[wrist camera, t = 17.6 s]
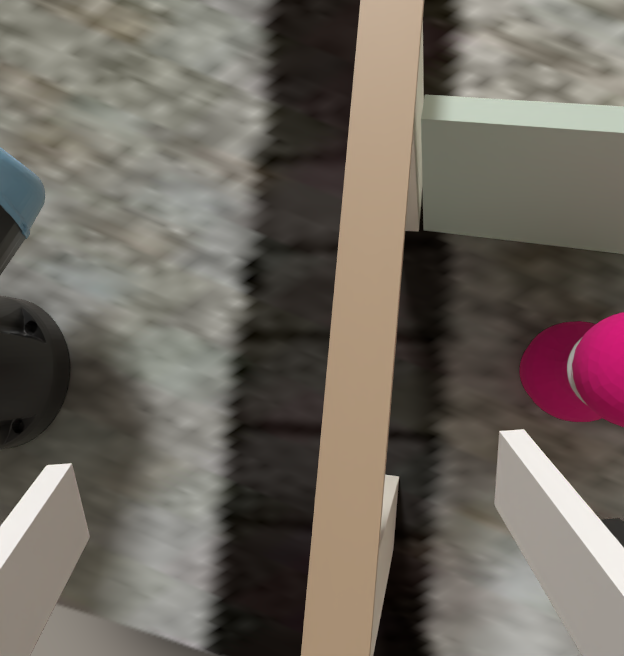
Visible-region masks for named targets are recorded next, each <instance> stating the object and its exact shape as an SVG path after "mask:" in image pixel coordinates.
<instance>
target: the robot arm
mask: <svg viewBox="0 0 624 656" xmlns="http://www.w3.org/2000/svg"><path fill="white" fill-rule="evenodd" d="M44 201H45V189H44V186H43V183H42V182H41V180H40V179H39V177H38V176H37V175H35V174H34V173H33V172H32V171H31V170H29V169H28V168H27V167H25V166H24V165H23V164H22V163H20V162H19V161H18V160H16V159H15V158H14V157H12V156H11V155H10V154H8V153H7V152H6V151H4V150H3V149H2V148H0V275H1V273H2V272H3V270H4V269H5V267H6V266H7V265H8V263H9V262H10V260H11V259H12V257H13V256H14V254H15V253H16V251H17V250H18V249H19V247H20V246H21V244H22V243H23V241H24V240H25V239H27V238H28V236H29V234H30V230H29V229H30V228H31V226H32V224H33V222H34V221H35V219H36V217H37V215H38V214H39V212H40V210H41V208H42V207H43V205H44ZM69 371H70V366H69V355H68V350H67V346H66V343H65V340H64V337H63V335H62V333H61V331H60V329H59V327H58V326H57V324H56V323H55V321H54V320H53V319H52V318H51V316H50V315H49V314H48V313H46V312H45V311H44V310H43V309H41V308H40V307H38V306H37V305H35V304H33V303H31V302H28V301H25V300H22V299H17V298H11V297H6V296H0V449H4V448H10V447H15V446H18V445H21V444H24V443H26V442H28V441H30V440H32V439H33V438H35V437H36V436H38V435H39V434H40V433H41V432H43V431H44V430H45V429H46V428H47V427H48V426H49V424H50V423H51V422H52V421H53V419H54V418H55V416H56V415H57V413H58V411H59V409H60V408H61V405H62V403H63V401H64V398H65V395H66V392H67V387H68V382H69ZM494 505H495V507H496V509H497V511H498V512H499V514H500V516H501V518H502V519H503V521H504V523H505V524H506V526H507V528H508V530H509V531H510V533H511V535H512V536H513V538H514V540H515V542H516V543H517V545H518V547H519V548H520V550H521V552H522V554H523V555H524V557H525V559H526V560H527V562H528V564H529V566H530V567H531V569H532V571H533V572H534V574H535V576H536V578H537V579H538V581H539V583H540V584H541V586H542V588H543V590H544V591H545V593H546V595H547V596H548V598H549V600H550V602H551V603H552V605H553V607H554V608H555V610H556V612H557V614H558V615H559V617H560V619H561V620H562V622H563V624H564V626H565V627H566V629H567V631H568V632H569V634H570V636H571V638H572V639H573V641H574V643H575V645H576V646H577V648H578V650H579V651H580V653H581V655H582V656H624V521H622V520H621V519H619V518H617V519H605V520H600V519H599V518H598V517H597V515H596V514H595V513H594V512H593V511H592V509H591V508H590V507H589V506H588V505H587V504H586V502H585V501H584V500H583V499H582V498H581V496H580V495H579V494H578V493H577V492H576V491H575V489H574V488H573V487H572V486H571V485H570V483H569V482H568V481H567V480H566V479H565V478H564V476H563V475H562V474H561V473H560V472H559V470H558V469H557V468H556V467H555V466H554V464H553V463H552V462H551V461H550V460H549V459H548V457H547V456H546V455H545V454H544V453H543V451H542V450H541V449H540V448H539V447H538V446H537V444H536V443H535V442H534V441H533V440H532V438H531V437H530V436H529V435H528V434H527V433H526V431H525V430H524V429H521V430H508V431H499V444H498V458H497V473H496V487H495V501H494ZM89 538H90V535H89V531H88V527H87V523H86V518H85V514H84V510H83V506H82V502H81V498H80V494H79V490H78V486H77V481H76V477H75V473H74V469H73V465H72V463H69V464H56V465H46V467H45V468H44V469H43V471H42V472H41V473H40V475H39V476H38V477H37V479H36V480H35V481H34V483H33V484H32V485H31V486H30V488H29V489H28V490H27V492H26V493H25V494H24V496H23V497H22V498H21V500H20V501H19V502H18V504H17V505H16V506H15V508H14V509H13V510H12V512H11V513H10V514H9V516H8V517H7V518H6V520H5V521H4V522H3V524H2V525H1V526H0V656H30V655H31V653H32V651H33V649H34V647H35V645H36V643H37V641H38V639H39V637H40V635H41V633H42V631H43V629H44V627H45V625H46V623H47V621H48V619H49V617H50V615H51V613H52V611H53V609H54V607H55V605H56V603H57V601H58V599H59V597H60V595H61V593H62V591H63V589H64V587H65V585H66V584H67V582H68V580H69V578H70V576H71V574H72V572H73V570H74V568H75V566H76V564H77V562H78V560H79V558H80V556H81V554H82V552H83V550H84V548H85V546H86V544H87V542H88V540H89Z"/></svg>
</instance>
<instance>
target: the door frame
mask: <svg viewBox="0 0 624 656" xmlns="http://www.w3.org/2000/svg"><path fill="white" fill-rule="evenodd" d="M423 8H424V0H361V2H360V13H359V24H358V35H357V46H356V57H355V68H354V79H353V90H352V101H351V112H350V123H349V134H348V145H347V156H346V167H345V178H344V189H343V200H342V211H341V222H340V233H339V244H338V255H337V266H336V277H335V288H334V299H333V310H332V321H331V332H330V343H329V354H328V365H327V376H326V387H325V398H324V409H323V420H322V431H321V442H320V453H319V464H318V475H317V486H316V496H315V507H314V518H313V529H312V540H311V551H310V562H309V573H308V584H307V595H306V606H305V617H304V628H303V639H302V650H301V656H373V653H374V648H375V643H376V638H377V632H378V627H379V622H380V617H381V611H382V606H383V601H384V596H385V590H386V585H387V580H388V575H389V570H390V564H391V559H392V554H393V547H394V535H395V522H396V510H397V497H398V485H399V477H398V476H391V475H385V470H386V458H387V446H388V434H389V421H390V409H391V397H392V385H393V373H394V361H395V349H396V336H397V324H398V312H399V300H400V288H401V276H402V263H403V251H404V239H405V231H419V224H420V211H421V199H422V141H421V116H422V110H423V104H424V97H423Z"/></svg>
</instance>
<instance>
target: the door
mask: <svg viewBox="0 0 624 656" xmlns="http://www.w3.org/2000/svg"><path fill="white" fill-rule="evenodd" d="M421 141H422V186H423V230H425V231H434V232H442V233H450V234H459V235H467V236H476V237H484V238H493V239H501V240H509V241H518V242H526V243H535V244H543V245H552V246H560V247H569V248H577V249H585V250H594V251H602V252H611V253H619V254H624V107H621V106H605V105H588V104H571V103H555V102H538V101H522V100H505V99H488V98H472V97H455V96H439V95H425V98H424V104H423V110H422V116H421Z"/></svg>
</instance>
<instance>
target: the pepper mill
mask: <svg viewBox="0 0 624 656" xmlns="http://www.w3.org/2000/svg"><path fill="white" fill-rule="evenodd" d="M520 379H521V382H522V385H523V387H524V389H525V391H526V392H527V394H528V395H529V396H530V397H531V399H532V400H533V401H534V402H535V404H536V405H538V406H539V407H540V408H541V409H542V410H543V411H545V412H546V413H548V414H550V415H552V416H554V417H556V418H559V419H562V420H566V421H572V422H590V421H595V420H599V419H602V418H603V419H605V420H607V421H609V422H611V423H613V424H616V425H619V426H622V427H624V312H622V313H618V314H615V315H612V316H610V317H608V318H605V319H603V320H601V321H600V322H598V323H597V324H593V323H590V322H581V321H575V322H564V323H560V324H556V325H553V326H551V327H549V328H547V329H545V330H544V331H542V332H541V333H539V334H538V335H537V336H536V337H535V338H534V339H533V340H532V342H531V343H530V344H529V346H528V348H527V349H526V351H525V352H524V354H523V356H522V359H521V362H520Z"/></svg>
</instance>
